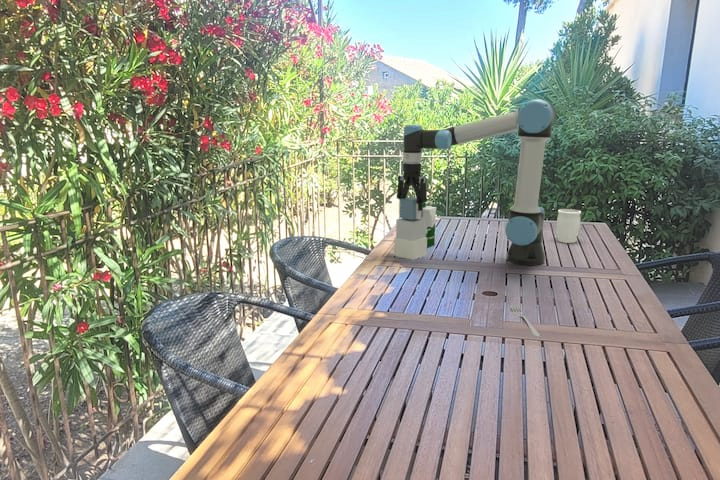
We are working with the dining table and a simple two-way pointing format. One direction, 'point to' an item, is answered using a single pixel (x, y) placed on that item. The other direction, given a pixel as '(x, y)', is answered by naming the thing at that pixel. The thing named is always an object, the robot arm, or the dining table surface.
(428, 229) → the milk carton
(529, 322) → the fork
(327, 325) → the dining table surface
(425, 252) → the tower base
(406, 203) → the slate block
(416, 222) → the tower top
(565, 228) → the jar
